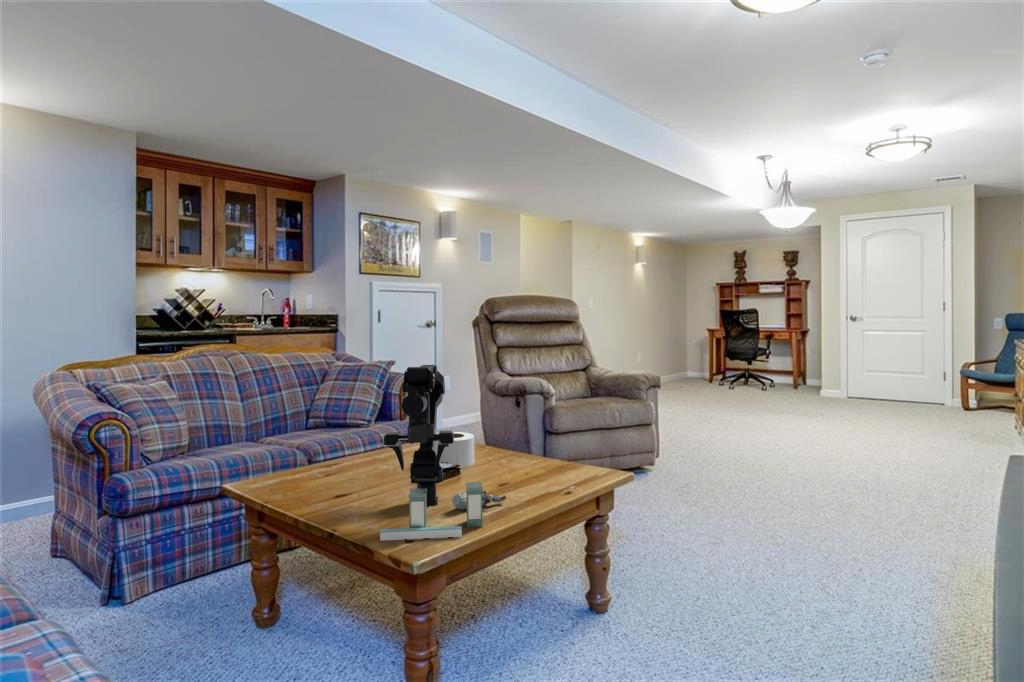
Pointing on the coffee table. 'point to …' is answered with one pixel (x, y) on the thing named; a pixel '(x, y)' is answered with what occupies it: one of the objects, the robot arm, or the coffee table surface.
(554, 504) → the coffee table surface
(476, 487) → the twin tin
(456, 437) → the object
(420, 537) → the rail
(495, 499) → the toy
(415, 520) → the tea tin
